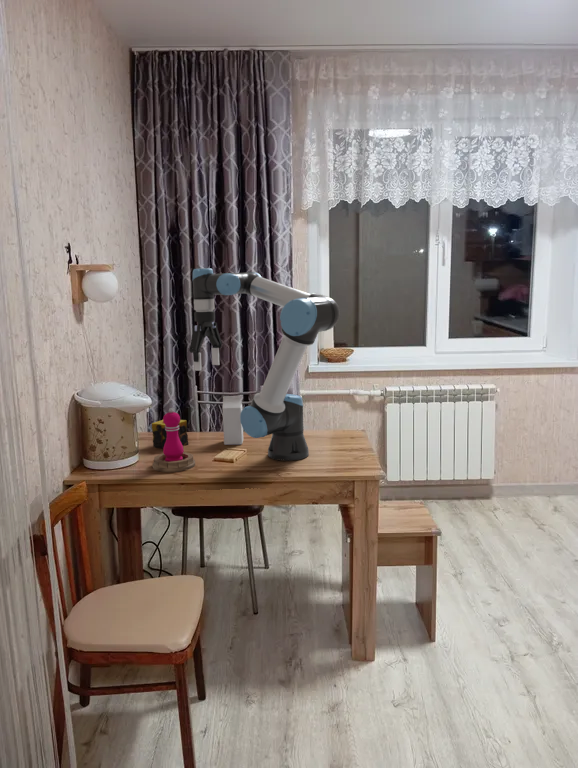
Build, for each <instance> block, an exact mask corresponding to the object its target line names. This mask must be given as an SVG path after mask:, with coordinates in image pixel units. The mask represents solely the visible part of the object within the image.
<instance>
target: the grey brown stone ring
mask: <svg viewBox="0 0 578 768" xmlns="http://www.w3.org/2000/svg"><path fill="white" fill-rule="evenodd" d="M181 456H182V457H183V460H179V461H165V458H166V456H165V455H164V453H160V454H157V455H155V456H154V457H153V462H152V469H153V470H155V471H157V472H161V473H177V472H184V471H188V470H191V469H192V468H194V467H195V466H196V461H195V459H194V454H192V453H191V452H189V451H187V452H186V451H184V452H183V454H182V455H181Z"/></svg>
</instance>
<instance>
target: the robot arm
mask: <svg viewBox="0 0 578 768" xmlns="http://www.w3.org/2000/svg"><path fill="white" fill-rule="evenodd" d="M191 280H192V293H193V310H194V311H195V312H193V313H194V314H193V315H194V322H197V325H192V333H191V334H192V335H191V338H190V339H191V340H190V345H189V350H188V351H189V352H190V353H192V355H193V370H194V371H197V372H198V371H199V372H201V371H202V370H203V369H202V367H203V366H202V352H200V351H201V348H202V345H203V343H204V340H205V338H206V337H207V338H208V341H209V342H210V344H211V346H212V347H211V362H212V363H211V365H212V366H220V365H221V364H220V348H222V346H223V342H222V339H221V335H220V331H219V330H218V323H217V322H215V321H216V312H215V311H214V310H215V308H216V307H215V295H216V296H217V295H218V296H233V295H238V294H241V295H242V294H246V295H249V296H253V297H256V298H258V299H260V300H263V301H266V302H267V303H271V304H274V305H277V306H280V307H282V309H281V312H280V315H279V316H280V317H279V321H280V326H281V328H280V329H281V330H280V331H281V333H282V339H281V341H280V344H279V347H278V349H277V351H276V354H275V355H274V359H273V361H272V363H271V366H270V368H269V370H268V373H267V375H266V378H265V381H264V382H263V385H262V388H261V390H260V392H257V393H255V394H254V396H253V398H252V401H251V403H250V404H249V405H247V406H245V407H242V411H241V414H240V421H241V424H242V427H243V432H244V433H246V434H247V435H248V436H249V437H251V438H253V439H258V438H264V437H267V436H270V435H271V438H270V442H269V445H268V449H267V455H268V456H267V457H268V458H270V459H272V460H275V461H284V462H285V461H298V460H302V459H305V458H307V457H309V455H310V454H309V453H310V452H309V450H310V449H309V446H308V444H307V441H306V438H305V435H304V434H305V433H304V402H303V397H302V396H300V395H299V394H298V395H297V394H292V393H291V394H290V393H288V391H289V390H290V387H291V385H292V383H293V380H294V378H295V375H296V373H297V372H298V369H299V367H300V364H301V362H302V359H303V358H304V355H305V352H306V350H307V348H308V347H309V346H312V345H313V344H314V343H315V342H316V339H317V336H318V334H319V332H320V333H321V332H327V331H328V330H331V329H332V328H334V327H335V326H336V324H338V321H339V319H340V317H341V316H340V313H341V312H340V311H341V310H340V307H339V304H338V303H337V302H336V300H335V299H333V298H331V297H330V296H327V295H323V294H321V293H318V292H312V293H308V292H306V291H303V290H300V289H297V288H294V287H291V286H287V285H285V284H282V283H281V282H276V281H274V280H271V279H267V278H265V277H263V276H261V274H260V273H258V272H253V271H247V272H234V273H233V272H228V273H227V272H226V273H214V270H213V269H212V268H210V267H209V268H207V267H206V268H205V267H204V268H193V270H192V279H191Z"/></svg>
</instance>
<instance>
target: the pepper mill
mask: <svg viewBox="0 0 578 768" xmlns="http://www.w3.org/2000/svg"><path fill="white" fill-rule="evenodd" d="M174 411H175V410H174V408H173V407H170V408H169V409H168V412H166V413H165V414H164V415H163V418H162V420H163V422H164V424H165V425H166V426H165V430H166V432H167V439H166V442H165V445H164V448H163V451H162V452H163V453H164V455H165V456H166V458H165V461H179V460H183V457H182V456H181V455H182V454H183V452H185V450H184V446H183V445H182V443H181V441H180V439H179V436H178V430H179V425H178V424H179V422H180V420H181V416H180V414H179V413H177V412H174ZM163 453H162V454H163Z"/></svg>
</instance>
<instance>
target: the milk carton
mask: <svg viewBox="0 0 578 768" xmlns="http://www.w3.org/2000/svg"><path fill="white" fill-rule="evenodd" d="M242 402H243V401H242V396H241V395H233V396H232V395H226V396H223V397H222V423H223V424H222V426H223V429H222V430H223V444H224V445H243V442H244V429H243V427H242V424H241V421H240V414H241V411H242V410H243V403H242Z"/></svg>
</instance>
